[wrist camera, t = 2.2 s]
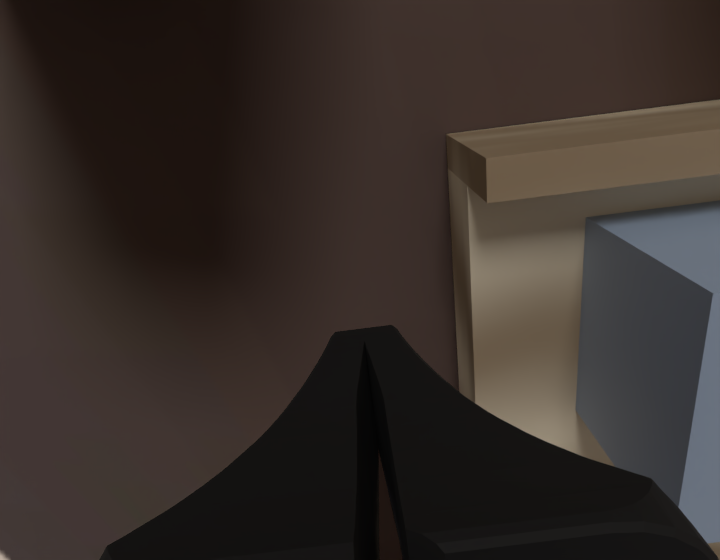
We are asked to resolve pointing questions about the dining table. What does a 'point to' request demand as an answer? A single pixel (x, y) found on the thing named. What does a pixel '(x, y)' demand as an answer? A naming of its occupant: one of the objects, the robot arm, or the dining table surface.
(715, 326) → the slate block
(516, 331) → the tray
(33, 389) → the dining table surface
